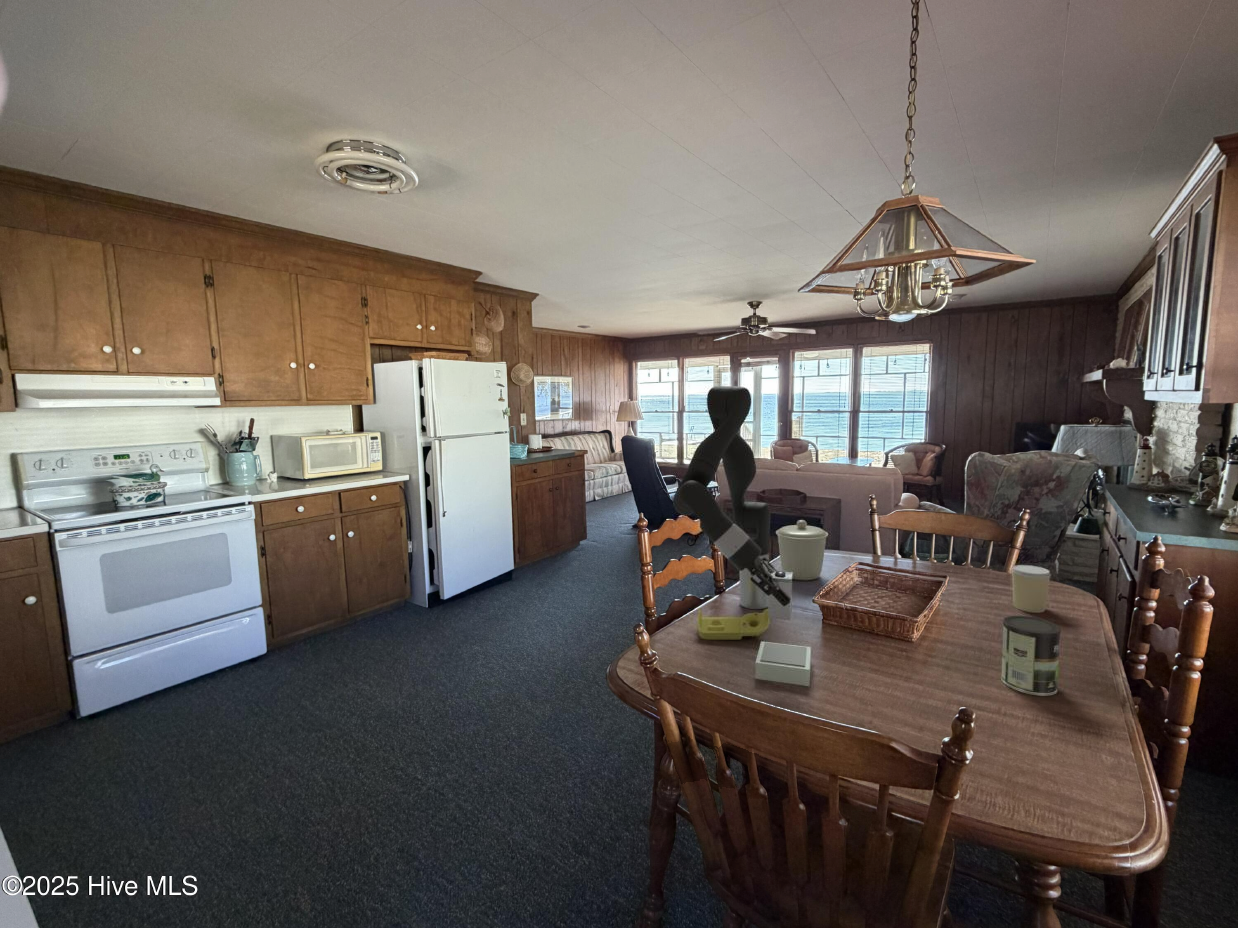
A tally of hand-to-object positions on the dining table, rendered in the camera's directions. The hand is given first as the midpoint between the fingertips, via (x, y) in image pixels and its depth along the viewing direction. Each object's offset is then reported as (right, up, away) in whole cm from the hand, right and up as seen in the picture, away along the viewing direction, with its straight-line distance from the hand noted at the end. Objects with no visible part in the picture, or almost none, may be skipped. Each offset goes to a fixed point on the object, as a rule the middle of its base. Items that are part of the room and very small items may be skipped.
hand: (788, 599), depth 131 cm
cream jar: (+84, -12, +36) cm, 92 cm away
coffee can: (+52, -17, -8) cm, 55 cm away
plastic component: (-8, -16, +24) cm, 30 cm away
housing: (-2, -4, +1) cm, 5 cm away
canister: (+27, -9, +72) cm, 77 cm away
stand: (0, -18, +2) cm, 18 cm away
